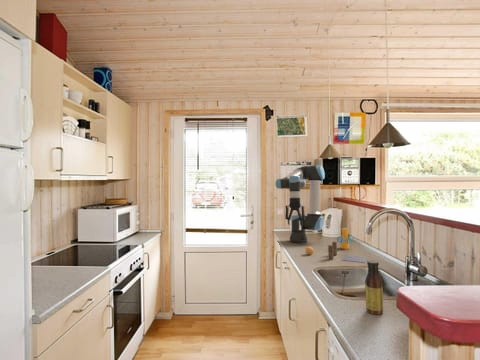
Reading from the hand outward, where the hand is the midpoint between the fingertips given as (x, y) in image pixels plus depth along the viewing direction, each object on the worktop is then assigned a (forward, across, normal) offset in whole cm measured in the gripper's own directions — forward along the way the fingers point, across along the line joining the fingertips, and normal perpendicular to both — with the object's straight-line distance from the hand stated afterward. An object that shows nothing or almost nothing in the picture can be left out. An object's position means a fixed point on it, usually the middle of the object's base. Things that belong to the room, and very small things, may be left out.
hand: (295, 229), depth 223 cm
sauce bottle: (+17, +58, -83) cm, 103 cm away
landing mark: (+17, +40, 0) cm, 43 cm away
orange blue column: (+17, +29, +31) cm, 46 cm away
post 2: (+17, +26, +6) cm, 32 cm away
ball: (+14, +10, 0) cm, 17 cm away
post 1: (+17, +26, -6) cm, 32 cm away
